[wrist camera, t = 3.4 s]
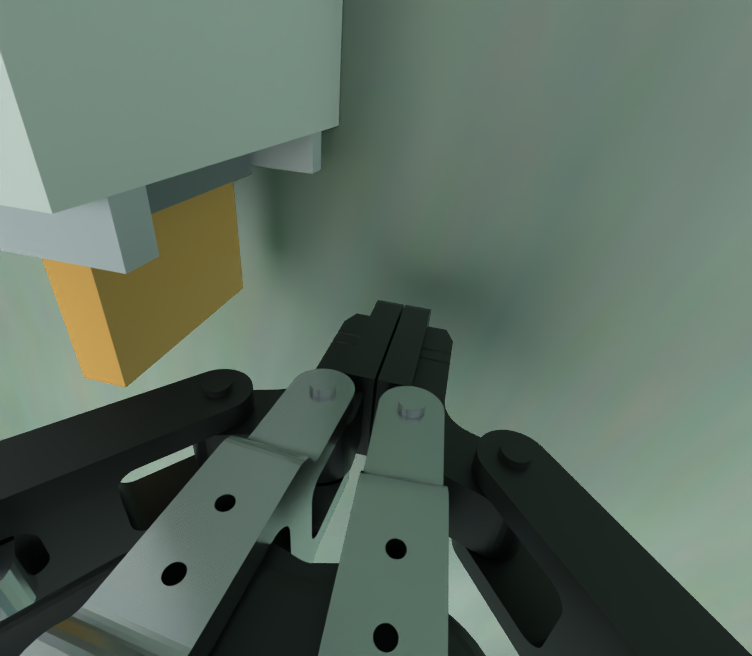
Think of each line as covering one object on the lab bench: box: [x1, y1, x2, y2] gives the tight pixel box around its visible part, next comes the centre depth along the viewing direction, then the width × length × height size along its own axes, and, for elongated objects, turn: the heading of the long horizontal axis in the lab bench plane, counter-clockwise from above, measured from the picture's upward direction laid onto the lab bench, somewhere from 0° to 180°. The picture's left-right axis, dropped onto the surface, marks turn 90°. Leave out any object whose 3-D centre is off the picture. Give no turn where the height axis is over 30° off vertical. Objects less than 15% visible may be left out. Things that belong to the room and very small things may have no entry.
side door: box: [42, 153, 252, 387], centre depth 12 cm, size 5×10×7 cm, turn 85°
